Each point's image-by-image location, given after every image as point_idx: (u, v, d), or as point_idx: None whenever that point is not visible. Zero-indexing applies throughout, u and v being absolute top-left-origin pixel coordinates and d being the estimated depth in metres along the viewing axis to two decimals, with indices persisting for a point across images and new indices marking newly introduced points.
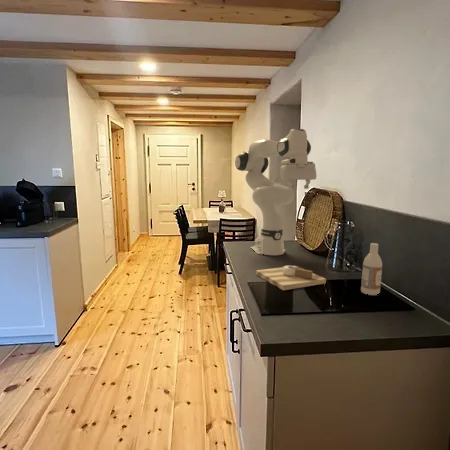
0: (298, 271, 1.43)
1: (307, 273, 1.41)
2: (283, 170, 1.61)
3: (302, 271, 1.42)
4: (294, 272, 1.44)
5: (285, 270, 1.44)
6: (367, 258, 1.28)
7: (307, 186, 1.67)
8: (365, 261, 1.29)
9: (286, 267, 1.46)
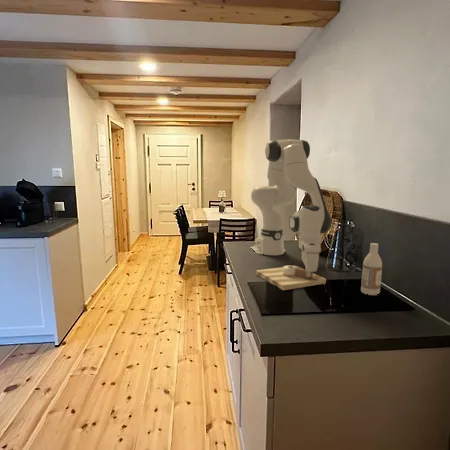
0: (298, 271, 1.43)
1: None
2: (314, 261, 1.29)
3: (302, 271, 1.42)
4: (294, 272, 1.44)
5: (285, 270, 1.44)
6: (367, 258, 1.28)
7: None
8: (365, 261, 1.29)
9: (286, 267, 1.46)
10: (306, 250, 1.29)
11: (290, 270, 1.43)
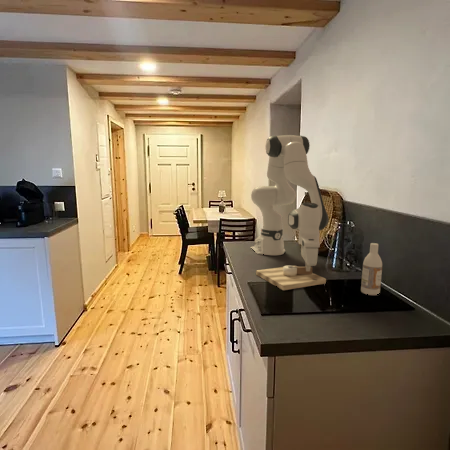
0: (300, 269, 1.46)
1: None
2: (314, 255, 1.34)
3: (304, 268, 1.46)
4: (296, 271, 1.45)
5: (290, 271, 1.43)
6: (367, 258, 1.28)
7: (309, 268, 1.45)
8: (365, 261, 1.29)
9: (288, 268, 1.45)
10: (306, 245, 1.35)
11: (294, 270, 1.44)
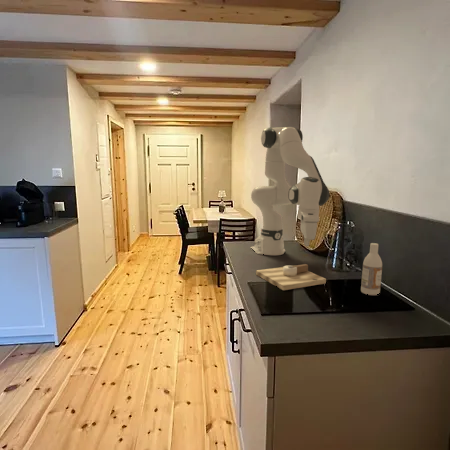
0: (298, 268, 1.48)
1: (305, 267, 1.50)
2: (312, 229, 1.35)
3: (301, 267, 1.48)
4: (296, 270, 1.47)
5: (292, 271, 1.43)
6: (367, 258, 1.28)
7: None
8: (365, 261, 1.29)
9: (289, 268, 1.44)
10: (305, 219, 1.35)
11: (296, 269, 1.44)
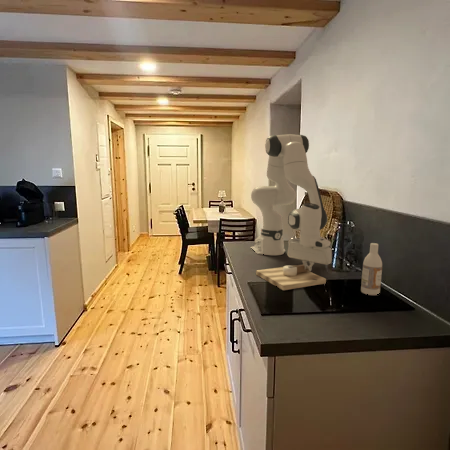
0: (298, 268, 1.48)
1: None
2: (330, 253, 1.41)
3: (301, 267, 1.48)
4: (296, 270, 1.47)
5: (292, 271, 1.43)
6: (367, 258, 1.28)
7: None
8: (365, 261, 1.29)
9: (289, 268, 1.44)
10: (325, 246, 1.39)
11: (296, 269, 1.44)
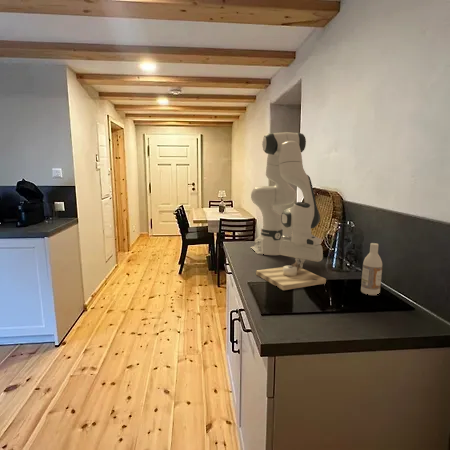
0: (295, 267, 1.49)
1: None
2: (321, 251, 1.45)
3: (296, 265, 1.51)
4: None
5: (295, 270, 1.44)
6: (367, 258, 1.28)
7: None
8: (365, 261, 1.29)
9: (291, 268, 1.44)
10: (316, 243, 1.42)
11: (296, 268, 1.46)
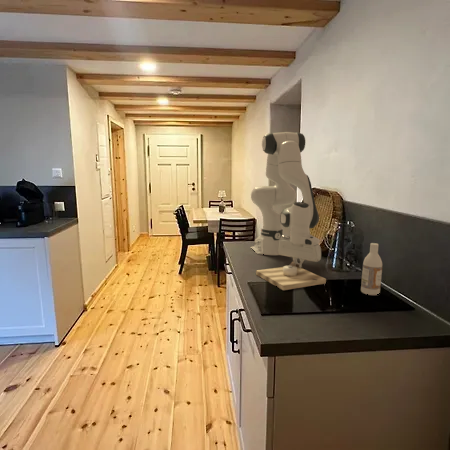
0: None
1: None
2: (319, 251, 1.45)
3: (294, 265, 1.51)
4: None
5: (296, 270, 1.44)
6: (367, 258, 1.28)
7: None
8: (365, 261, 1.29)
9: (292, 268, 1.44)
10: (314, 243, 1.42)
11: None
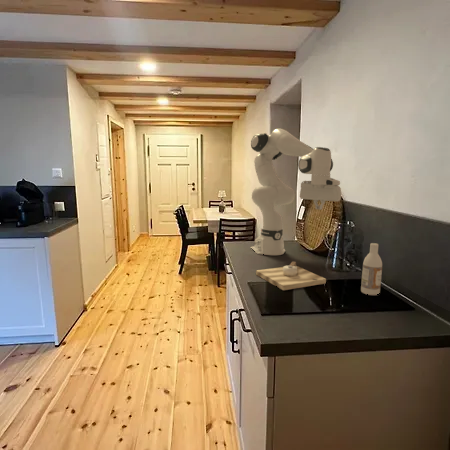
0: None
1: (295, 264, 1.54)
2: (340, 191, 1.55)
3: (294, 265, 1.51)
4: None
5: (296, 270, 1.44)
6: (367, 258, 1.28)
7: None
8: (365, 261, 1.29)
9: (292, 268, 1.44)
10: (335, 183, 1.53)
11: None
